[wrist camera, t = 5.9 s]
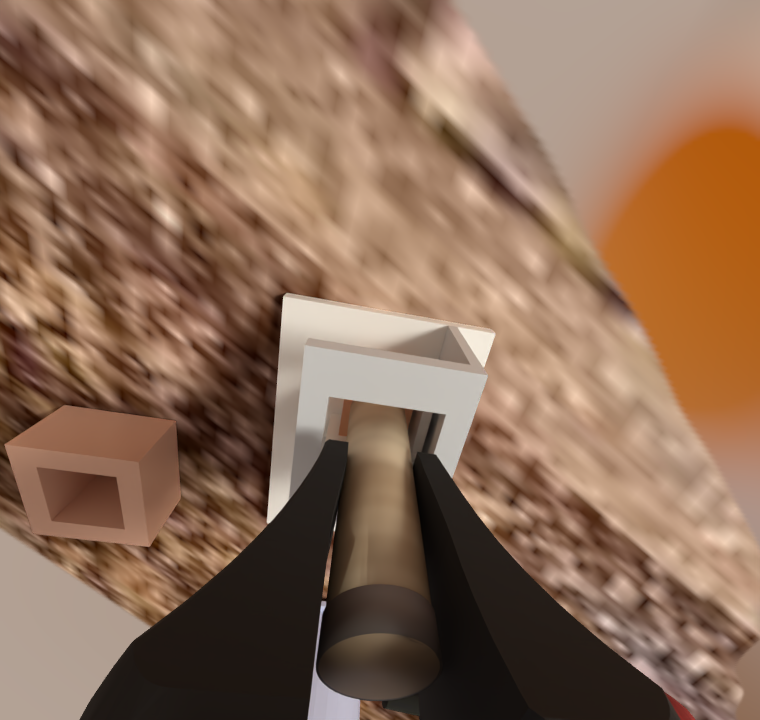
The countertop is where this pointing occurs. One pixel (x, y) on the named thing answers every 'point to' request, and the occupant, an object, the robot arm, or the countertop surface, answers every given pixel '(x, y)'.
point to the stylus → (378, 570)
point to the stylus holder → (97, 475)
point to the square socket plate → (370, 381)
